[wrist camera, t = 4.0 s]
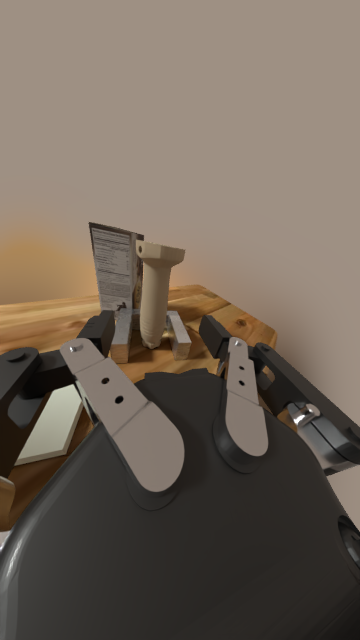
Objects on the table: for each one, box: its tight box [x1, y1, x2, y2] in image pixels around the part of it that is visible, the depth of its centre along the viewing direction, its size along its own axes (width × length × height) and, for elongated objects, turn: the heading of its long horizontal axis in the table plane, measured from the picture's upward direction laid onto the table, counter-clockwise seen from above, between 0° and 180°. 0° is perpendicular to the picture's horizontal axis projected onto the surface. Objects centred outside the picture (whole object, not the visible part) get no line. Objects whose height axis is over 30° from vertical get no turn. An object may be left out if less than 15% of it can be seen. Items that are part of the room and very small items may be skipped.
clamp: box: [110, 308, 192, 364], centre depth 22 cm, size 11×10×4 cm
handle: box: [136, 240, 185, 349], centre depth 18 cm, size 5×6×15 cm
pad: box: [14, 384, 84, 466], centre depth 12 cm, size 9×9×1 cm
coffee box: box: [89, 222, 144, 320], centre depth 26 cm, size 9×6×16 cm
